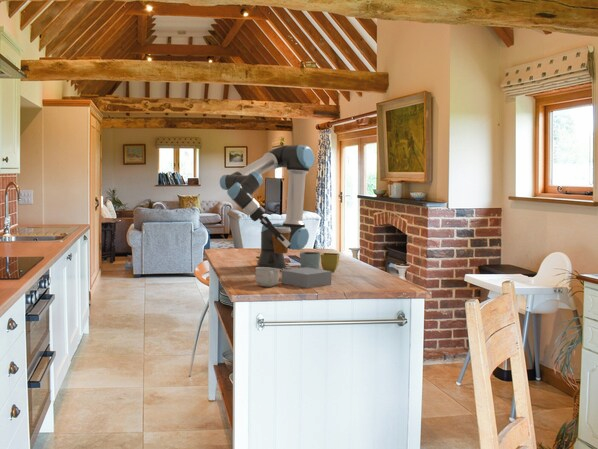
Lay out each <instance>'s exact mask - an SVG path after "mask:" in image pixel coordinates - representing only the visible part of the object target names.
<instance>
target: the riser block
mask: <svg viewBox="0 0 598 449" xmlns="http://www.w3.org/2000/svg"><path fill="white" fill-rule="evenodd" d="M332 273H333V272H332V271H326V270H323V269H320V268H319V269H314V268H308V267H304V268H301V267H296V268H290V269H288V268H287V269H282V270H281V284H285V285H288V286H289V285H290V286H292V287H293V286H295V287H298V288H304V289H310V288H311V289H312V288H316V287H324V286H330V285H332Z"/></svg>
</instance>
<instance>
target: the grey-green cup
mask: <svg viewBox="0 0 598 449" xmlns="http://www.w3.org/2000/svg"><path fill="white" fill-rule="evenodd" d="M321 254H322V253H321V252H319V251H317V252H315V251H302V252H301V251H300V253H299V261H300V268H304V267H308V268H314V269H320V263H321Z"/></svg>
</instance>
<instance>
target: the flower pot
mask: <svg viewBox="0 0 598 449" xmlns="http://www.w3.org/2000/svg"><path fill="white" fill-rule="evenodd" d="M339 262H340V253H338V252H337V253H334V252H333V253H332V252H322V253H321V254H320V264H321V267H322V268H321V269H322V270H326V271H332V273H334V272H335V271H336V270H337V268H338V265H339Z"/></svg>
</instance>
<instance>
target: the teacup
mask: <svg viewBox="0 0 598 449" xmlns="http://www.w3.org/2000/svg"><path fill="white" fill-rule="evenodd" d="M280 272H281V268H270V267H258V266H257V267H255V274H254V275H255V278H254V279H255V282H256V284H257V285H258V286H261V287H267V288H268V287H270V288H271V287H275V286H276V285H277V284H278V283H279V279H280Z"/></svg>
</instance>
